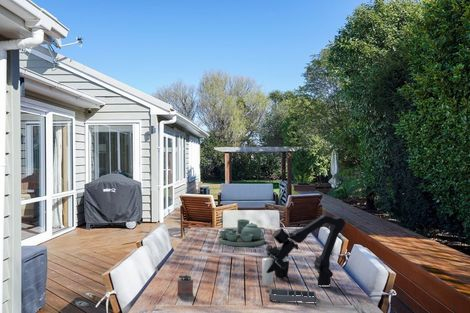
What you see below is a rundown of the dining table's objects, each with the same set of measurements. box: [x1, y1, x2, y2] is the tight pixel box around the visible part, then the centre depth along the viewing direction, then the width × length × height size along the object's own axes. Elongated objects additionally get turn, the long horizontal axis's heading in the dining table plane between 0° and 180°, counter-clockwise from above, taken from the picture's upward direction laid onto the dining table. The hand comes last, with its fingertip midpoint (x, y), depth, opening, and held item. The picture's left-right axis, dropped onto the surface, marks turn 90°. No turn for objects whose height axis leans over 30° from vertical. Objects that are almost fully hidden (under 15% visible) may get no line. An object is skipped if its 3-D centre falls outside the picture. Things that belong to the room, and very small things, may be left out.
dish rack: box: [268, 288, 317, 303], centre depth 196 cm, size 23×10×4 cm, turn 82°
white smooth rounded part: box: [261, 257, 274, 286], centre depth 210 cm, size 6×6×13 cm
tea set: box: [217, 218, 266, 248], centre depth 332 cm, size 40×40×16 cm
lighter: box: [176, 274, 194, 297], centre depth 199 cm, size 8×3×10 cm, turn 92°
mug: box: [274, 257, 290, 279], centre depth 232 cm, size 12×9×10 cm
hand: (265, 271), depth 210 cm, fingers closed on white smooth rounded part, 6 cm apart
